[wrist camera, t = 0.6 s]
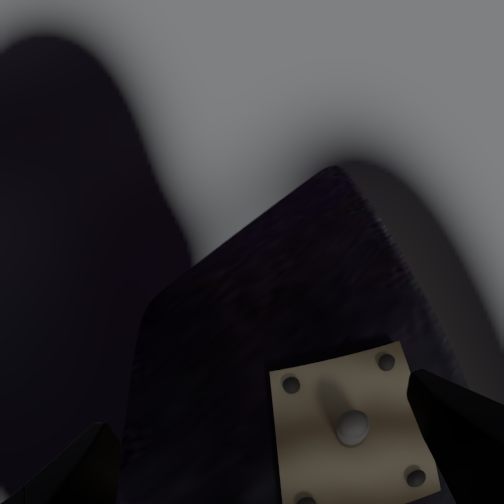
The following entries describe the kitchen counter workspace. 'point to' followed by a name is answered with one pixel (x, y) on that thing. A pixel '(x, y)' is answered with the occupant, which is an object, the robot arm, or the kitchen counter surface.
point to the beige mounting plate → (350, 432)
